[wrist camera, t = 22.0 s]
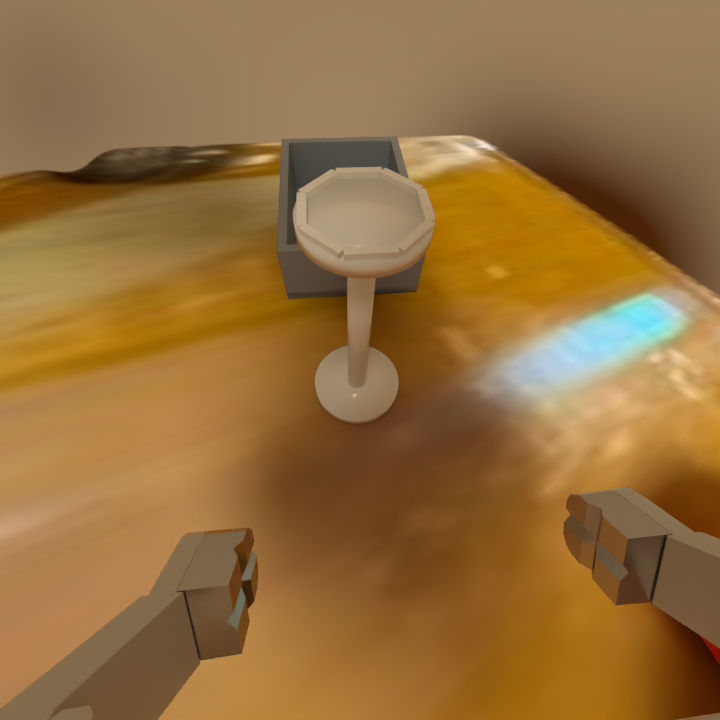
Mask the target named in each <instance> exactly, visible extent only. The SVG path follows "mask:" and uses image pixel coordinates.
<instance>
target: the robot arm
mask: <svg viewBox="0 0 720 720" xmlns="http://www.w3.org/2000/svg"><path fill="white" fill-rule="evenodd" d="M566 508H567V510H568V511H569V513H570V516H569V517H568V518H567V519H566V520H565V522H564V530H563V534H564V538H565V541H566V545H567V547H568V548H569V550H570V552H571V554H572V555H573V556H574V557H575V559H576V560H577V561H578V562H579V563H580V564H582V565H584V566H586V567H587V568H589V569H591V570H592V577H593V580H594V581H595V582H596V583H597V584H598V586H599V587H600V588H601V589H602V590H603V591H604V592H605V594H606V595H607V596H608V597H609V598H610V599H611V601H612V602H613V603H614V604H615V605H623V604H634V603H644V602H652V604H653V605H654V606H656V607H657V608H659V609H660V610H662V611H663V612H665V613H667V614H668V615H670V616H671V617H673V618H674V619H676V620H677V621H679V622H680V623H682V624H683V625H685V626H686V627H688V628H689V629H691V630H692V631H694V632H696V633H697V634H699V635H700V636H702V637H703V638H705V639H706V640H708V641H709V642H711V643H712V644H714V645H715V646H717V647H718V648H720V539H719V538H716V537H714V536H711V535H708V534H706V533H703V532H694V531H692V530H691V529H689V528H688V527H687V526H685V525H684V524H682V523H681V522H680V521H678V520H677V519H675V518H674V517H672V516H671V515H670V514H668V513H667V512H665V511H664V510H663V509H661V508H660V507H658V506H657V505H656V504H654V503H653V502H651V501H650V500H648V499H647V498H646V497H644V496H643V495H641V494H640V493H639V492H637V491H636V490H634V489H631V488H628V487H624V488H616V489H608V490H604V491H595V492H586V493H577V494H570V496H569V497H568V499H567V504H566ZM253 543H254V538H253V533H252V530H251V529H250V528H239V529H226V530H214V531H208V532H194V533H187V534H185V535H184V536H183V537H182V538H181V539H180V541H179V543H178V544H177V546H176V548H175V550H174V551H173V553H172V555H171V557H170V558H169V560H168V562H167V564H166V565H165V567H164V569H163V571H162V572H161V574H160V576H159V578H158V579H157V581H156V583H155V585H154V586H153V588H152V590H151V592H150V593H149V595H148V596H142V597H140V598H139V599H137V600H136V601H135V602H134V603H132V604H131V605H130V606H129V607H127V608H126V609H125V610H124V611H122V612H121V613H120V614H119V615H117V616H116V617H115V618H114V619H112V620H111V621H110V622H109V623H107V624H106V625H105V626H104V627H102V628H101V629H100V630H99V631H98V632H96V633H95V634H94V635H93V636H91V637H90V638H89V639H88V640H86V641H85V642H84V643H83V644H81V645H80V646H79V647H78V648H76V649H75V650H74V651H73V652H71V653H70V654H69V655H68V656H66V657H65V658H64V659H63V660H61V661H60V662H59V663H58V664H56V665H55V666H54V667H53V668H51V669H50V670H49V671H48V672H46V673H45V674H44V675H43V676H41V677H40V678H39V679H38V680H36V681H35V682H34V683H33V684H31V685H30V686H29V687H28V688H26V689H25V690H24V691H23V692H21V693H20V694H19V695H18V696H16V697H15V698H14V699H13V700H11V701H10V702H9V703H8V704H6V705H5V706H4V707H3V708H1V709H0V720H158V718H159V717H160V716H161V714H162V713H163V712H164V710H165V709H166V708H167V707H168V705H169V704H170V703H171V701H172V700H173V699H174V697H175V696H176V695H177V693H178V692H179V691H180V689H181V688H182V687H183V685H184V684H185V683H186V681H187V680H188V679H189V677H190V676H191V675H192V673H193V672H194V671H195V669H196V668H197V667H198V665H199V664H200V660H207V659H213V658H219V657H225V656H231V655H237V654H242V651H243V647H244V642H245V638H246V634H247V630H248V626H249V622H250V621H249V615H248V608H249V607H250V606H251V605H252V603H253V602H254V600H255V596H256V591H257V583H258V562H257V556H256V555H255V554H254V553H252V552H251V550H252V547H253ZM676 720H720V713H714V714H708V715H702V716H695V717H689V718H683V719H676Z"/></svg>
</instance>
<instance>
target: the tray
mask: <svg viewBox="0 0 720 720" xmlns="http://www.w3.org/2000/svg"><path fill="white" fill-rule="evenodd" d="M350 167H381V168H382V170H383V169H384V168H387V169H389V170H391V171H394V172H396V173H398V174H400V175H402V176H404V177H406V178H408V174H407V171H406V167H405V164H404V160H403V157H402V153H401V150H400V147H399V143H398V140H397V137H359V138H358V137H357V138H313V139H312V138H311V139H282V144H281V167H280V191H279V214H278V237H277V254H278V258H279V262H280V267H281V271H282V275H283V279H284V283H285V287H286V291H287V295H288V299H293V298H311V297H329V296H346V295H347V277H346V276H341V275H338V274H335V273H332V272H330V271H327V270H325V269H323V268H321V267H320V266H318V265H316V264H315V263H314V262H312V261H311V260H310V259H309V258H308V257H307V256H306V255H305V254H304V253H303V251H302V250H301V248H300V247H299V245H298V242H297V239H296V234H295V228H294V222H293V209H294V206H295V203H296V201H297V193H298V192H299V189H301V188H302V187H304V186H305V185H307V184H309V183H310V182H312V181H313V180H315V179H316V178H318V177H320V176H321V175H323V174H324V173H326V172H328V171H329V170H331V169H333V170H335V171H336V168H350ZM408 179H409V178H408ZM425 254H426V253H425ZM425 254H424V256H423V257H422V258H421V259H420V260H419V261H418V262H417V263H415V264H414V265H413V266H411V267H409V268H408V269H406V270H404V271H402V272H399V273H397V274H393V275H390V276H386V277H381V278H376V281H375V291H374V294H382V293H400V292H416V289H417V285H418V281H419V277H420V273H421V269H422V265H423V261H424V258H425Z"/></svg>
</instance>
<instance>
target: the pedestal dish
mask: <svg viewBox="0 0 720 720" xmlns="http://www.w3.org/2000/svg"><path fill="white" fill-rule="evenodd" d="M435 221H436V219H435V213H434V209H433V207H432V205H431V203H430V200H429V197H428V194H427V190H426V189H423V186H422V185H420V184H418V183H416V182H414V181H412V180H410V179H408V178H406V177H404V176H402V175H400V174H398V173H396V172H394V171H391V170H389V169H387V168H384V169H383V170H382V168H381V167H350V168H336V171H335V170H333V169H331V170H329V171H328V172H326V173H324V174H323V175H321V176H320V177H318V178H316V179H315V180H313V181H312V182H310V183H309V184H307V185H305V186H304V187H302V188H301V189H299V192H298V193H297V201H296V203H295V206H294V209H293V222H294V228H295V234H296V239H297V242H298V245H299V247H300V248H301V250H302V251H303V253H304V254H305V255H306V256H307V257H308V258H309V259H310V260H311V261H312V262H314V263H315V264H316V265H318V266H320V267H321V268H323V269H325V270H327V271H330V272H332V273H335V274H338V275H341V276H346V277H347V325H348V346H343V347H341V348H338V349H336V350H334V351H332V352H331V353H329V354H328V355H327V356H326V357H325V358H324V359H323V360H322V362H321V363H320V365H319V367H318V369H317V372H316V376H315V389H316V393H317V397H318V400H319V402H320V404H321V406H322V407H323V408H324V410H325V411H326V412H327V413H328V414H329V415H331V416H332V417H333V418H335V419H337V420H339V421H342V422H345V423H349V424H364V423H369V422H372V421H374V420H377V419H378V418H380V417H382V416H383V415H384V414H385V413H386V412H387V411H388V410H389V409H390V408H391V406H392V405H393V403H394V401H395V398H396V395H397V391H398V385H399V380H398V374H397V371H396V368H395V366H394V365H393V363H392V362H391V360H390V359H389V358H388V357H387V356H386V355H385V354H383V353H382V352H380V351H379V350H377V349H375V348H372V347H369V343H370V332H371V322H372V312H373V301H374V291H375V281H376V278H381V277H386V276H390V275H393V274H397V273H399V272H402V271H404V270H406V269H408V268H409V267H411V266H413V265H414V264H415V263H417V262H418V261H419V260H420V259H421V258H422V257H423V256H424V254H425V253H426V251H427V250H428V247H429V245H430V241H431V238H432V234H433V230H434V226H435Z"/></svg>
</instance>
